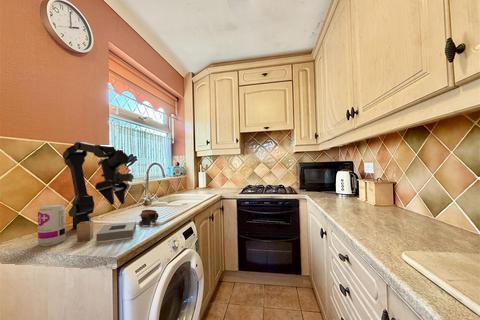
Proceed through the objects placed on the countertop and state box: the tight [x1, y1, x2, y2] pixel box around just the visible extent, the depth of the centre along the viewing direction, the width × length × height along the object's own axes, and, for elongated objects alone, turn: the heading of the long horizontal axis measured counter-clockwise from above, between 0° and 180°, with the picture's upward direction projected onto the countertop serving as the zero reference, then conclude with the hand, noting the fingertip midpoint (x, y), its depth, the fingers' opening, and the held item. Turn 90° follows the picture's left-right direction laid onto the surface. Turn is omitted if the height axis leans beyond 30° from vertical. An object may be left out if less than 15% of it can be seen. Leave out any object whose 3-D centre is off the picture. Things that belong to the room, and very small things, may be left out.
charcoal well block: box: [95, 221, 137, 244], centre depth 92 cm, size 13×13×4 cm
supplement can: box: [37, 203, 67, 247], centre depth 85 cm, size 8×8×15 cm
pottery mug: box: [138, 209, 159, 227], centre depth 110 cm, size 12×10×8 cm
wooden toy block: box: [76, 220, 94, 243], centre depth 88 cm, size 4×4×7 cm
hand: (118, 204), depth 93 cm, fingers open, 9 cm apart
